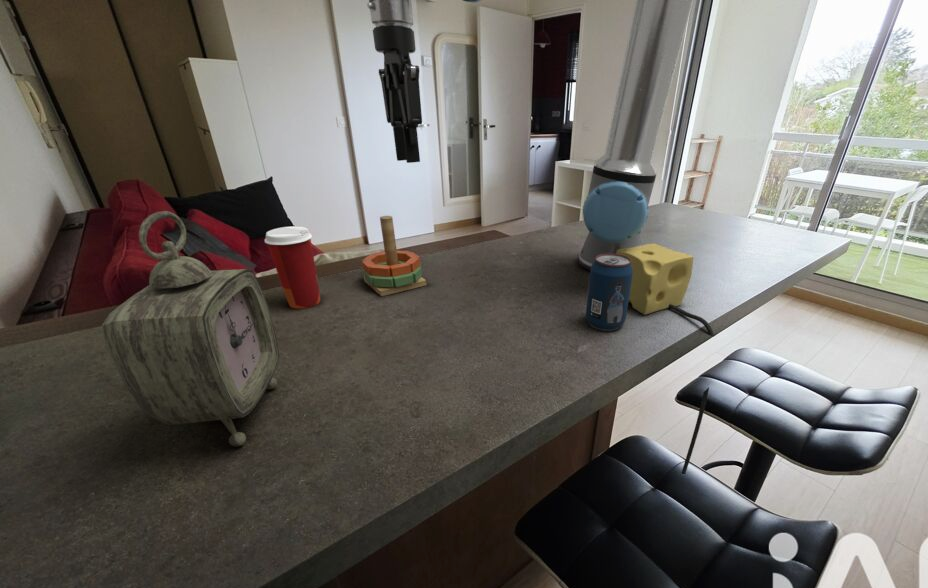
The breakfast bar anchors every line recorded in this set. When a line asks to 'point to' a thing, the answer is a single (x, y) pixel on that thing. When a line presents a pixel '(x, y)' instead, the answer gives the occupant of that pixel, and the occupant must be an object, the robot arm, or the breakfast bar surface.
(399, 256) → the terracotta ring
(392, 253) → the post stand
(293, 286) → the paper cup
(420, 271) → the green ring
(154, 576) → the breakfast bar surface
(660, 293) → the cheese
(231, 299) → the tabletop clock
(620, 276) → the soda can
